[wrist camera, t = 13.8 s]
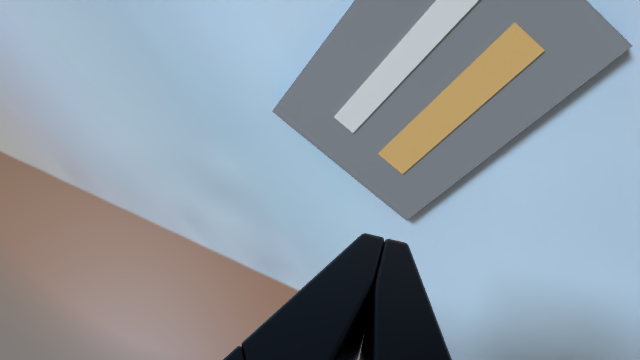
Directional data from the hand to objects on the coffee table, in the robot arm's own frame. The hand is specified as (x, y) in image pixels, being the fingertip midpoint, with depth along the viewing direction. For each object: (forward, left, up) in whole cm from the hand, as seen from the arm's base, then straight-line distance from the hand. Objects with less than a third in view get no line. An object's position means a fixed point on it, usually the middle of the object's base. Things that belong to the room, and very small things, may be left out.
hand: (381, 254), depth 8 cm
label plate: (+1, +1, -13) cm, 13 cm away
